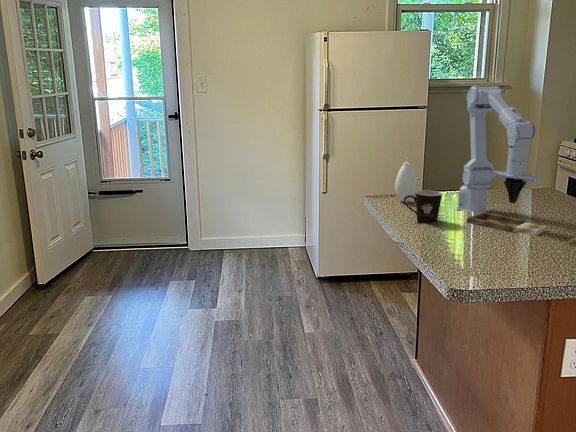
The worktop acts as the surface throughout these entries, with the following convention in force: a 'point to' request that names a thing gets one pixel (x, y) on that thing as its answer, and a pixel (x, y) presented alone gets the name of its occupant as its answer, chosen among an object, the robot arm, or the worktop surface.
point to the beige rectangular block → (530, 228)
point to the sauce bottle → (405, 182)
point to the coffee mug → (426, 205)
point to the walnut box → (495, 221)
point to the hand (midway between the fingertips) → (512, 202)
